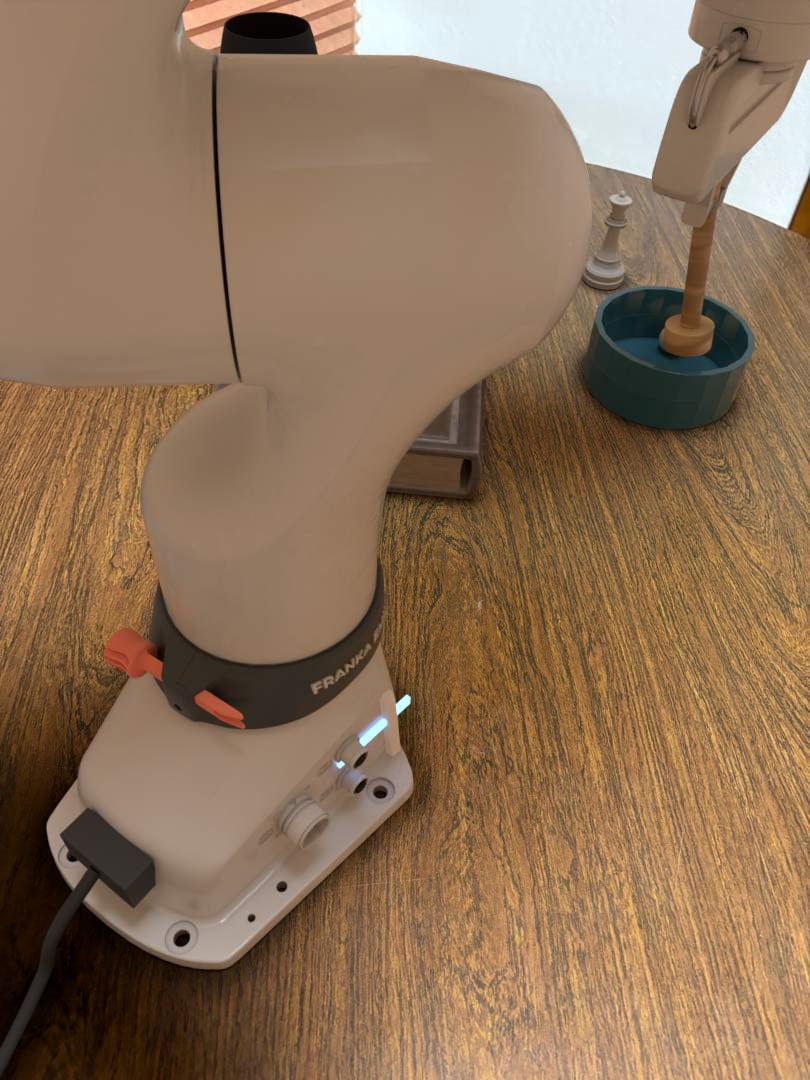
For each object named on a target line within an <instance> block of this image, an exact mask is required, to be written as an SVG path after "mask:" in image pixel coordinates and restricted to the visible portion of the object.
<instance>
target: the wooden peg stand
mask: <svg viewBox="0 0 810 1080" xmlns="http://www.w3.org/2000/svg"><path fill="white" fill-rule="evenodd" d="M721 181H722V180H721ZM721 181H720V182H719V184H718V185H717V186H716V190H715V194H714V197H713V199H714V200H715V202H714V205H713V208H712V210H711V214H710V217H709V219H708V220H707V221H706V222H705V223H704V224H703V226H702V227H699V228H696V227H693V226H692V232H691V239H690V245H689V253H688V262H687V269H686V276H685V284H684V289H685V290H684V297H683V305H682V312H681V314H678V315H675V316H672V317H670V318H669V319H668V320H667V321H666V323H665V329H664V337H663V347H664V349H665V350H666V351H668V352H669V353H671V354H674V355H677V356H683V357H695V356H700V355H703V354H705V353H707V352H708V351H709V350H710V349H711V345H712V339H713V333H714V327H715V326H714V323H713V321H712V320H711V319H709V318H708V317H705V316H702V315H701V313H702V306H703V300H704V295H705V293H706V286H707V281H708V280H707V279H708V272H709V267H710V266H709V265H710V259H711V252H712V247H713V246H712V245H713V241H714V233H715V226H716V220H717V212H718V209H717V207H718V201H719V194H720V188H721Z"/></svg>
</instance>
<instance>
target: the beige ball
mask: <svg viewBox="0 0 810 1080" xmlns="http://www.w3.org/2000/svg"><path fill="white" fill-rule="evenodd" d="M664 329H665V328H664ZM664 329H663V330H662V331H661V333H660V335H659V344H660V347H661V348H662V349H663V350H664V351H665V352H667V353H669V352H668V351H666V350H665V349H664V347H663V337H664ZM670 354H671V353H670Z"/></svg>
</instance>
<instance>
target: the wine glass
mask: <svg viewBox="0 0 810 1080" xmlns="http://www.w3.org/2000/svg"><path fill="white" fill-rule="evenodd" d="M220 54H309V55H319V51H318V47H317V43H316V40H315V36H314V33H313V29H312V26H311V24H310V22H309V21H308V20H307V19H305V18H303V17H301V16H298V15H295V14H291V13H286V12H278V11H277V12H276V11H253V12H247V13H241V14H237V15H234V16H232V17H230V18H228V19H227V20H226V21H225V22H224V24H223V28H222V34H221V41H220V50H219V55H220Z"/></svg>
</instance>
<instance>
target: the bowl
mask: <svg viewBox="0 0 810 1080" xmlns="http://www.w3.org/2000/svg"><path fill="white" fill-rule="evenodd" d="M684 290H685V288H678V287H674V286H669V285H668V286H667V285H640V286H636V287H629V288H625V289H621V290H619V291H617V292H614V293H613V294H610V295H609V296H607V297H606V298H605V299H604V300H603V301H602V302H601V303H600V304H599V305H598V306H597V308H596V312H595V316H594V321H593V324H592V329H591V333H590V337H589V341H588V346H587V349H586V354H585V358H584V364H583V367H582V368H583V369H582V376H583V381H584V384H585V386H586V388H587V390H588V391H589V392H590V395H592V396H593V397H594V399H595V400H596V401H597V402H598V403H600V404H601V405H602V406H603V407H605V408H606V409H608V410H609V411H610V412H612V413H614V414H616V415H618V416H619V417H621V418H623V419H625V420H628V421H630V422H634V423H636V424H639V425H643V426H646V427H651V428H657V429H663V430H689V429H695V428H701V427H704V426H707V425H710V424H712V423H715V422H717V421H718V420H719V419H721V418H722V417H723V416H724V415H726V414H727V412H728V411H729V410H730V409H731V406H732V405H733V402H734V400H735V399H736V397H737V395H738V391H739V389H740V386H741V384H742V382H743V379H744V377H745V375H746V372H747V370H748V367H749V364H750V362H751V360H752V357H753V355H754V353H755V348H756V347H755V346H756V345H755V334H754V333H753V331H752V329H751V327H750V325H749V323H748V322H747V321H746V320H745V319H744V318H743V317H742V316H741V315H740V314H739V313H738V312H736V311H735V310H734V309H733V308H732V307H730V306H728V305H726V304H724V303H722V302H721V301H719V300H718V299H715V298H713V297H712V296H708V295H705V294H704V300H703V306H702V313H701V315H702V316H705V317H708V318H709V319H711V320H712V321H713V323H714V326H715V327H714V333H713V339H712V345H711V349H710V350H709V351H708V352H707V353H705V354H703V355H700V356H695V357H683V356H677V355H674V354H670V353H667V352H665V351H664V350H663V349H662V348H661V347H660V344H659V335H660V333H661V331H662V330H663V329H664V328H665V323H666V321H667V320H668V319H669V318H670V317H672V316H675V315H678V314H681V312H682V305H683V297H684Z"/></svg>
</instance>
